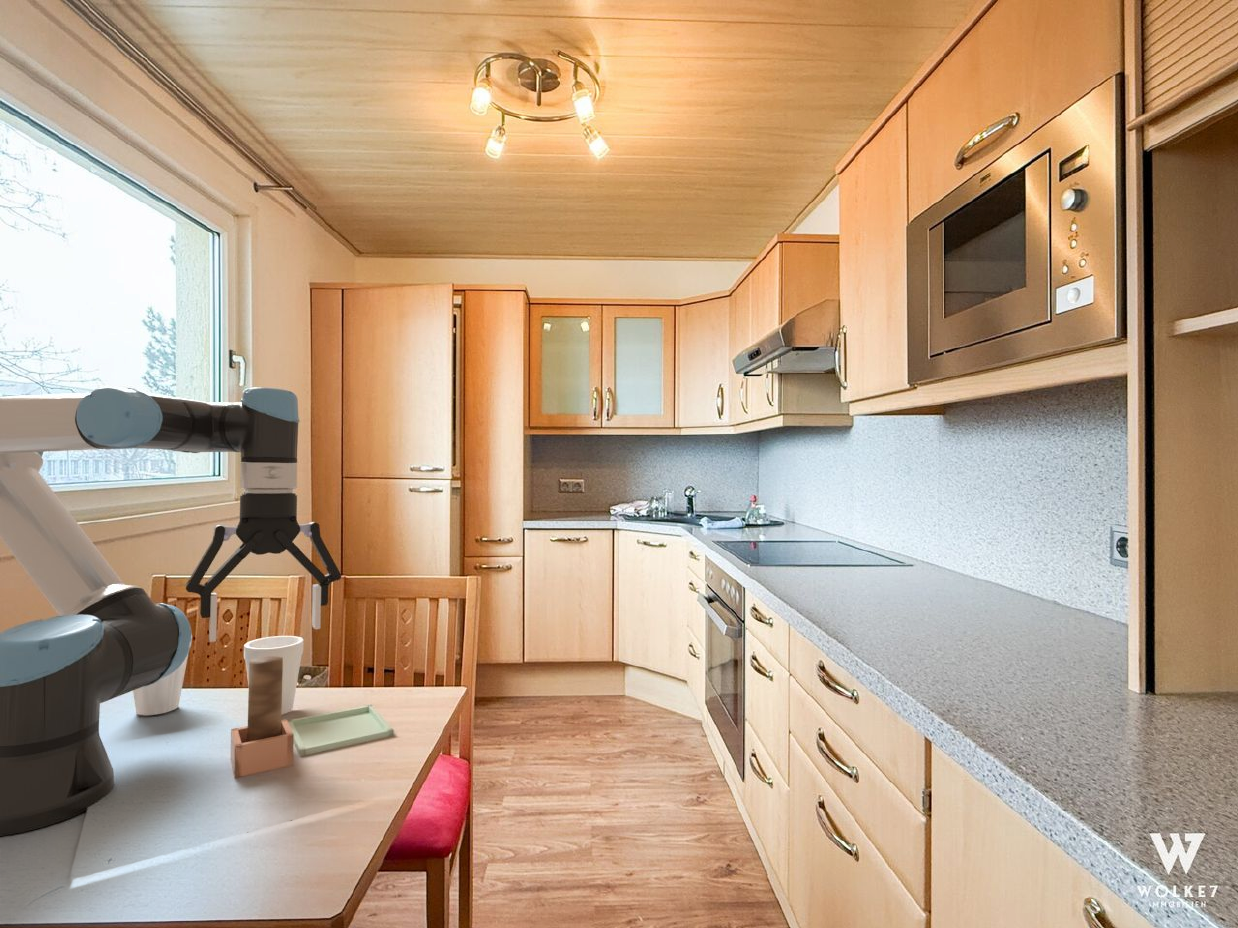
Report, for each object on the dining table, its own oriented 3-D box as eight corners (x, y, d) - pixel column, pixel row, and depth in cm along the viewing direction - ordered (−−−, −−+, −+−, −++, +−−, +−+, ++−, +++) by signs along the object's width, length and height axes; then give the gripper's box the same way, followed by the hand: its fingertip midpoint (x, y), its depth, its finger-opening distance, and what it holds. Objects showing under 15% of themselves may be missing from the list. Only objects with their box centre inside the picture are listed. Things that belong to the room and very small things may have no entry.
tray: (299, 759, 96) (299, 749, 96) (286, 729, 108) (286, 720, 108) (393, 738, 104) (393, 729, 104) (371, 712, 116) (371, 704, 116)
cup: (164, 722, 110) (167, 646, 110) (108, 721, 110) (110, 645, 111) (203, 701, 120) (205, 632, 120) (151, 700, 120) (153, 631, 121)
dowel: (248, 770, 91) (250, 666, 92) (245, 759, 95) (247, 658, 95) (282, 762, 94) (284, 661, 94) (278, 752, 97) (280, 654, 98)
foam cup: (275, 726, 109) (277, 650, 109) (229, 721, 111) (231, 647, 111) (312, 707, 118) (314, 637, 118) (269, 702, 120) (271, 634, 120)
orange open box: (234, 782, 89) (235, 746, 89) (230, 762, 95) (231, 729, 95) (292, 768, 93) (293, 734, 93) (285, 750, 99) (286, 718, 99)
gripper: (167, 492, 85) (163, 651, 84) (362, 491, 99) (360, 627, 99) (167, 491, 91) (164, 639, 90) (351, 490, 105) (349, 618, 105)
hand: (266, 633), depth 95 cm, fingers open, 13 cm apart
